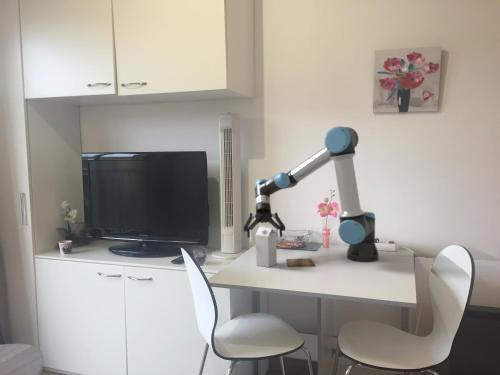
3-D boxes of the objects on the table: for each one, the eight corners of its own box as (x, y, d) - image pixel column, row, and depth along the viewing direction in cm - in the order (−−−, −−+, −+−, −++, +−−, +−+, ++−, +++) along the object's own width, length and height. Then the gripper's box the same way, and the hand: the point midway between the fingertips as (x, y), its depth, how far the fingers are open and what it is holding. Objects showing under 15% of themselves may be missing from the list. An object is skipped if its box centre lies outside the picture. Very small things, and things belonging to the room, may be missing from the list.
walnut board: (310, 260, 205) (310, 258, 205) (314, 266, 195) (314, 264, 195) (286, 261, 205) (286, 259, 204) (288, 267, 195) (288, 265, 195)
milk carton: (264, 261, 204) (263, 223, 202) (276, 263, 200) (276, 224, 198) (256, 265, 199) (255, 226, 197) (268, 267, 194) (267, 227, 192)
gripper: (287, 210, 214) (290, 246, 201) (238, 211, 214) (239, 247, 201) (288, 201, 208) (292, 237, 195) (238, 202, 208) (238, 239, 195)
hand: (265, 242), depth 198 cm, fingers open, 13 cm apart
